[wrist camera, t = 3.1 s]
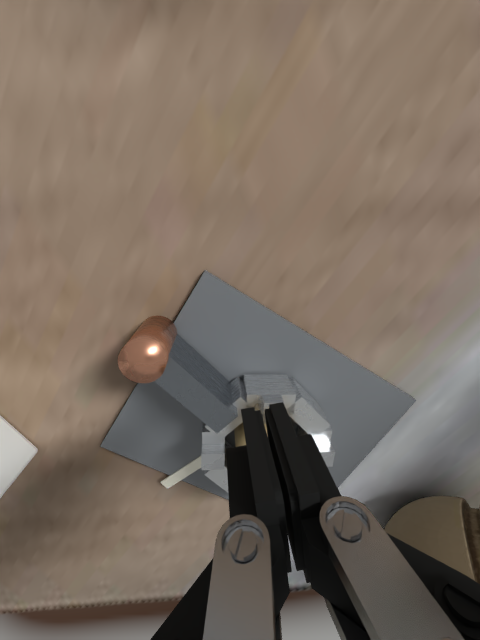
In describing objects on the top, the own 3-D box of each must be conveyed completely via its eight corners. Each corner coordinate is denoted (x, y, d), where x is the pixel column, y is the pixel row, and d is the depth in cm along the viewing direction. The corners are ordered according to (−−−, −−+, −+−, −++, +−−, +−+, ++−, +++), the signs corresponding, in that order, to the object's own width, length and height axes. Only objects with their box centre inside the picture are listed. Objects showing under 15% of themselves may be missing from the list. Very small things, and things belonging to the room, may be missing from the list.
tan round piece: (446, 567, 34) (606, 807, 20) (330, 557, 32) (418, 815, 18) (506, 470, 30) (763, 688, 16) (378, 452, 28) (540, 682, 14)
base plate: (412, 396, 26) (482, 458, 19) (290, 532, 31) (312, 622, 24) (205, 269, 21) (198, 290, 14) (96, 452, 26) (50, 536, 19)
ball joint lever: (339, 424, 26) (366, 469, 21) (256, 487, 27) (264, 542, 23) (191, 275, 21) (183, 289, 16) (100, 362, 22) (68, 399, 17)
